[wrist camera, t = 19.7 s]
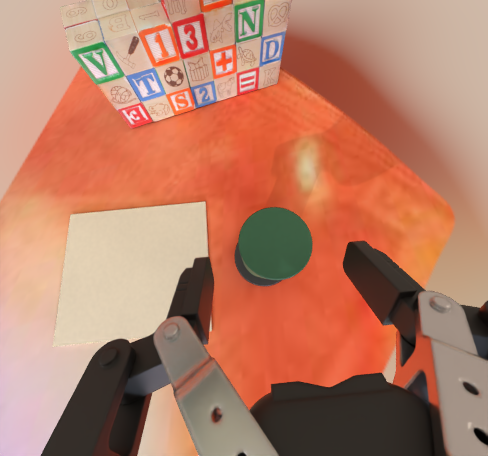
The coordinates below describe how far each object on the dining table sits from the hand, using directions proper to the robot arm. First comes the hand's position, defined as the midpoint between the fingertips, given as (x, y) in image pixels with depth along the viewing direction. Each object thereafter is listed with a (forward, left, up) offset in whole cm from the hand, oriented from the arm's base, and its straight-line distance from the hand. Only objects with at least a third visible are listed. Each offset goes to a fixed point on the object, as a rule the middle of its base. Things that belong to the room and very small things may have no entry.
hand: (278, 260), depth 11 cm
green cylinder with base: (0, +1, -10) cm, 10 cm away
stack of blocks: (-6, +25, -10) cm, 28 cm away
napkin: (-14, +1, -10) cm, 17 cm away
